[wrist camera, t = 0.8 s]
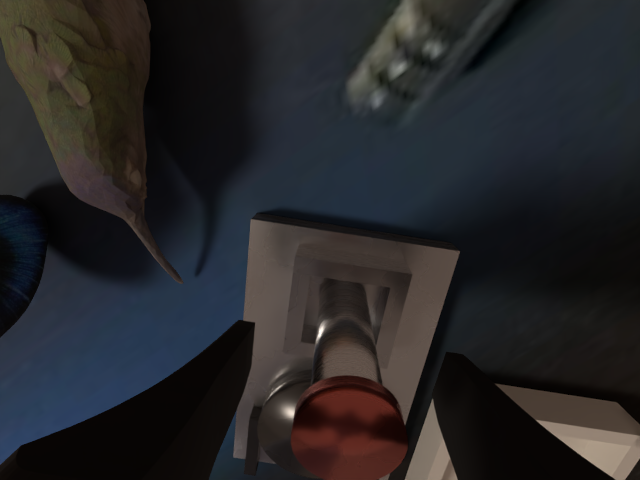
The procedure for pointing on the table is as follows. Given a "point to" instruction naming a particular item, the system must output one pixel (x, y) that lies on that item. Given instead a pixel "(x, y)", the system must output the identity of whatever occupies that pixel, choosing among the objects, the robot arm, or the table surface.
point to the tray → (558, 418)
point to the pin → (347, 396)
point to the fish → (19, 256)
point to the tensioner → (302, 313)
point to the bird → (88, 96)
